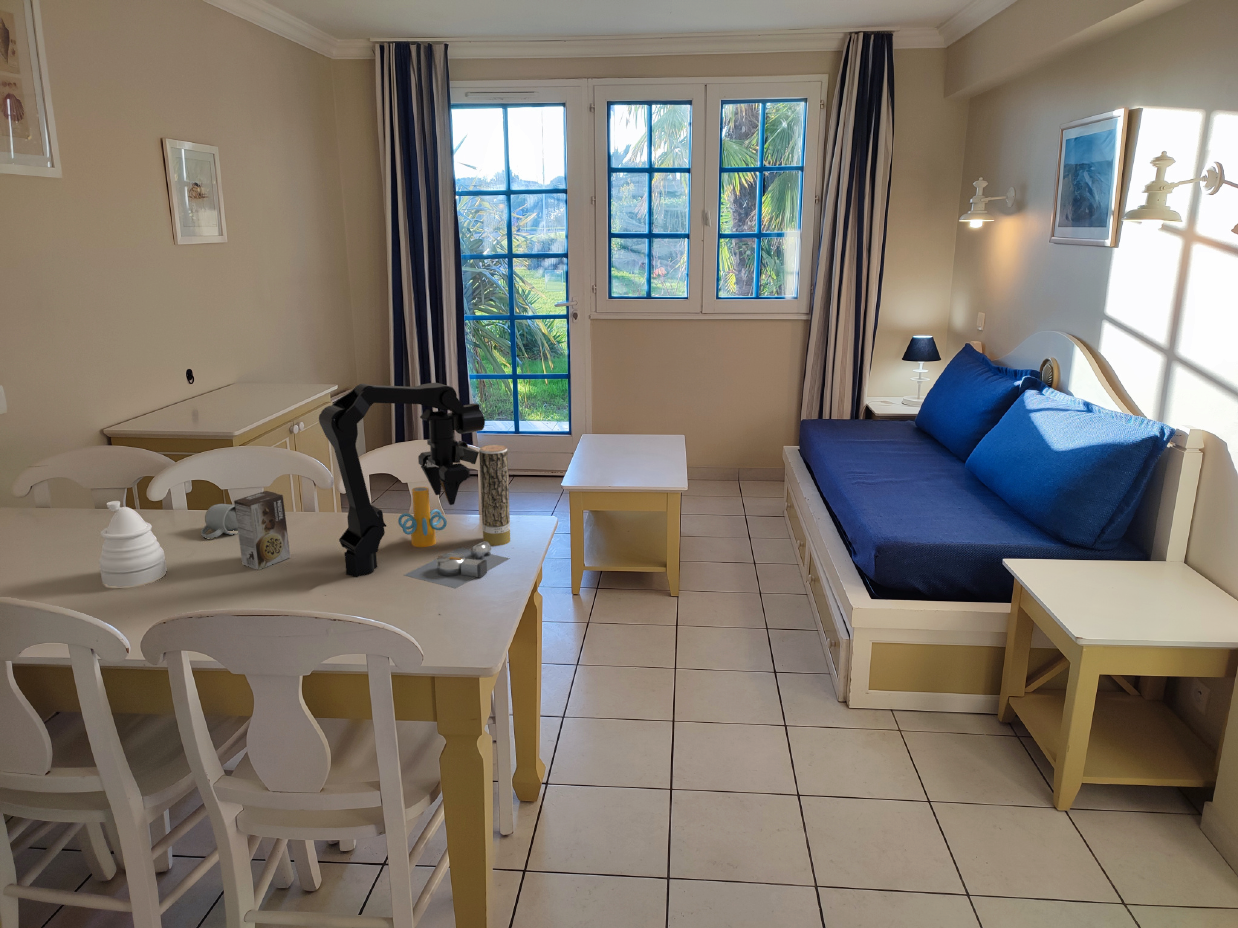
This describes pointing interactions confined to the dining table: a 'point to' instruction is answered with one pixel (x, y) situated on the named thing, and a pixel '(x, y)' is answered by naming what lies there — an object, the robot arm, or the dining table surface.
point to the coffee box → (262, 529)
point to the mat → (431, 575)
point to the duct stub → (481, 550)
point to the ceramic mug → (220, 520)
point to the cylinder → (422, 519)
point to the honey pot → (129, 550)
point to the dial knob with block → (460, 565)
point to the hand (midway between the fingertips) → (444, 499)
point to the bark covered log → (495, 494)
